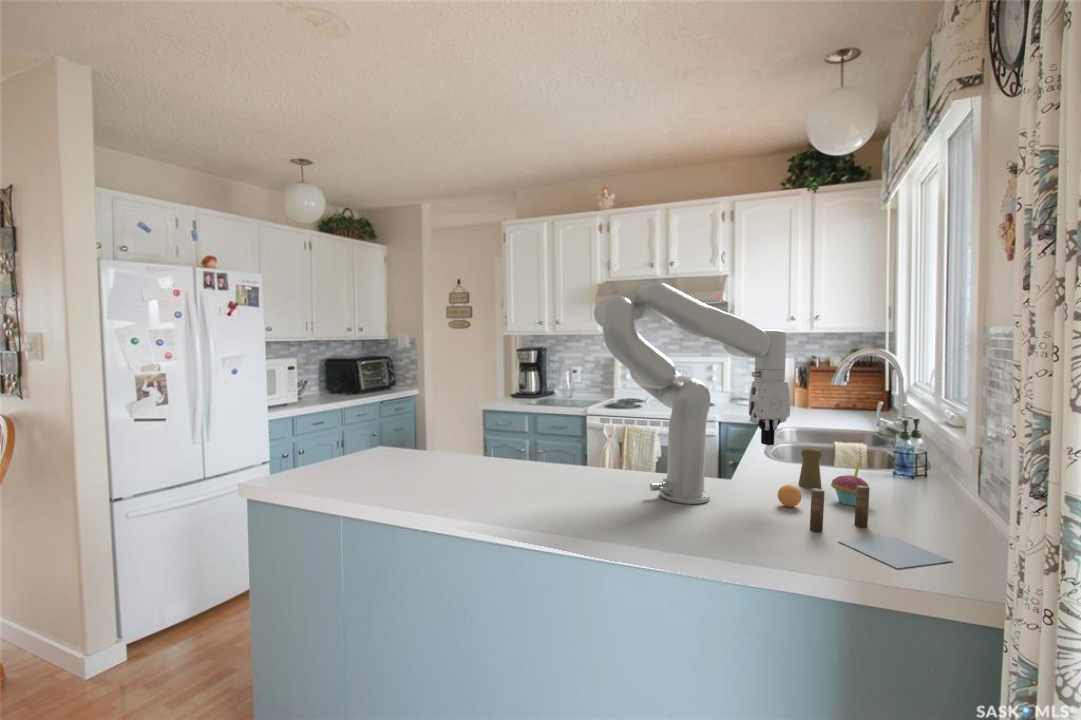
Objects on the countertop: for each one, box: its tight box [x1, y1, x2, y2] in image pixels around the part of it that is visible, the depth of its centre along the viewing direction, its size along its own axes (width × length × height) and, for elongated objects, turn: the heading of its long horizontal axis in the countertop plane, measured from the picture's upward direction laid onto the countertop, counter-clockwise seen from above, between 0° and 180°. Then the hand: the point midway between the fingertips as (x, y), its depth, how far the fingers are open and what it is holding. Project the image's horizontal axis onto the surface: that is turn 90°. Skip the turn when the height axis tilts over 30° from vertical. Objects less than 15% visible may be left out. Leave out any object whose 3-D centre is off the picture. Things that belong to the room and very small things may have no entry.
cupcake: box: [830, 458, 870, 506], centre depth 148 cm, size 9×8×12 cm
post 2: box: [854, 486, 871, 529], centre depth 131 cm, size 3×3×9 cm
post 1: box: [809, 488, 825, 533], centre depth 127 cm, size 3×3×9 cm
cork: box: [798, 446, 822, 489], centre depth 164 cm, size 6×6×11 cm
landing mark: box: [838, 535, 954, 570], centre depth 116 cm, size 14×14×1 cm
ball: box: [777, 484, 802, 508], centre depth 144 cm, size 6×6×6 cm
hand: (767, 444), depth 153 cm, fingers closed
